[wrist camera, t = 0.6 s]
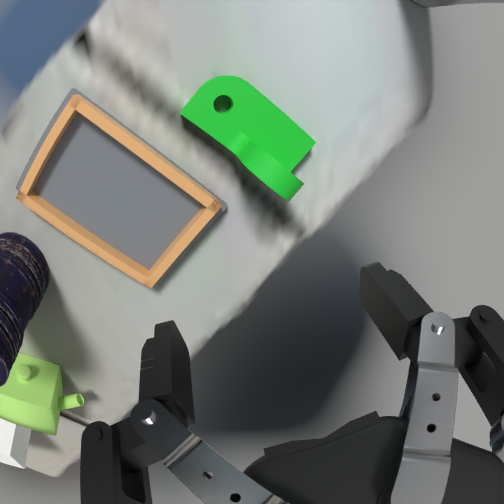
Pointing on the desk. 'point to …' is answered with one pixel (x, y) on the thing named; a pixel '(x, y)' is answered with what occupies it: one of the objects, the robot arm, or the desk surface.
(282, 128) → the mechanical part
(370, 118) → the desk surface
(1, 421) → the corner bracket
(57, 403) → the gearbox
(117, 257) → the fitting jig
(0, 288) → the storage jar
